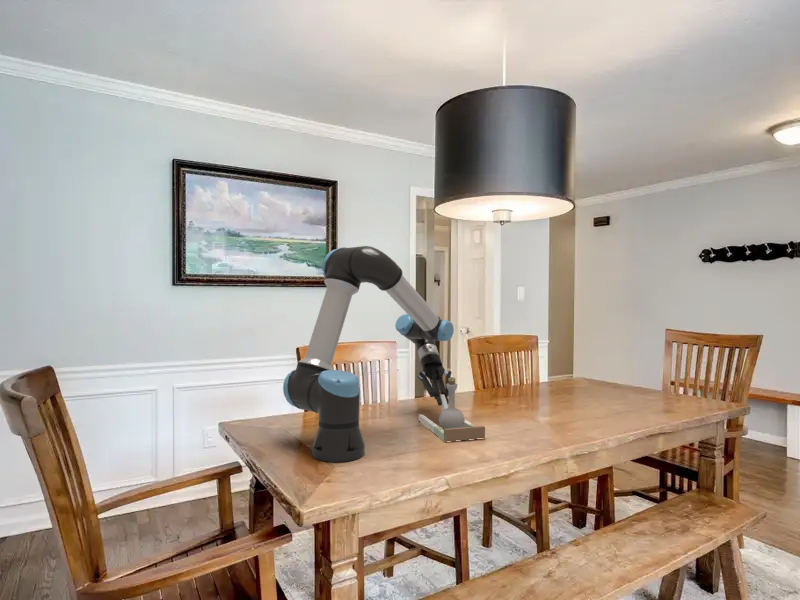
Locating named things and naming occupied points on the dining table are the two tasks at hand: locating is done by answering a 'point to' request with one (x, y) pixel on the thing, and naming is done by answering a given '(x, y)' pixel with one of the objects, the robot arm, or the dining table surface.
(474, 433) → the slot track
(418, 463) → the dining table surface
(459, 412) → the potion bottle
